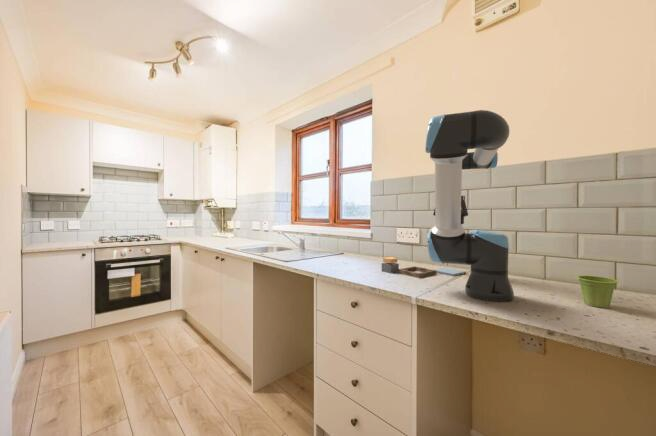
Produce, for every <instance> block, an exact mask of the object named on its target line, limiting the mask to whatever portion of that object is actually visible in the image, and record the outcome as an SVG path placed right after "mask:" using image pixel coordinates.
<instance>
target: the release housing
mask: <svg viewBox="0 0 656 436" xmlns="http://www.w3.org/2000/svg"><path fill="white" fill-rule="evenodd" d="M399 265H400V263H398V262H396V263H392V264H388V263H386V262H382V263H381V272H385V273H389V274H392V273H398V269H400V268H399Z"/></svg>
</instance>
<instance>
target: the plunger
mask: <svg viewBox="0 0 656 436" xmlns="http://www.w3.org/2000/svg"><path fill="white" fill-rule="evenodd" d="M382 263H388V264H392V263H398V257H393V256H388V257H387V256H386V257H383V258H382Z"/></svg>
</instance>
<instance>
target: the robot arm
mask: <svg viewBox="0 0 656 436" xmlns="http://www.w3.org/2000/svg"><path fill="white" fill-rule="evenodd" d="M509 136H510V127H509V124H508V122H507V120H506V119H505V118H504V117H503V116H501V115H500V114H498V113H496V112H494V111H491V110H484V109H480V110H474V111H464V112H458V113H457V112H456V113H449V114H448V113H447V114H442V115H437V116H434V117H432V118H430V119H429V122H428V126H427V130H426V138H425V149H424V150H425V153H427V154H429V158H430V160H432V161H433V162H434V192H435V193H434V202H435V203H434V210H433V214H432V215H433V216H434V217H435V219H434V220H435V223H434V225H433V226H432V227H431V229H430V231H429V232H427V235H426V242H427V250H428V251H427V252H428V255H429V258H430V260H431V261H432V262H433V263H441V264H453V265H463V266H464V265H467V266H470V273H469V277H468V278H467V281H466V284H465V286H464V287H465V289H464V291H465V294H466V295H467V296H469V297H472V298H475V299H480V300H484V301H491V302H511V301H513V300H514V299H515V297H514V296H515V293H514V289H513V285H512V284H511V280H510V278H509V249H510V246H509V238H508V236H507V235H505V234H504V233H500V232H493V231H487V230H481V229H479V230H478V229H471V231H470V233H468V232H467V233H466V229H465V228H464V227H463V225H464V224H465V217H468V216H469V212H468V208H467V203H466V196H465V195H462V179H463V175H462V173H463V171H465V170H481V169H482V170H483V169H485V170H487V169H488V170H489V169H495V168H496V167H497V166H498V157H499V155H498V150H499V148H501V147H502V146H504V145H505V143H506V142H507V141H508V139H509ZM468 150H474V151H472V152H468Z"/></svg>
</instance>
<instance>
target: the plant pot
mask: <svg viewBox="0 0 656 436" xmlns="http://www.w3.org/2000/svg"><path fill="white" fill-rule="evenodd" d="M576 278H577V279H578V283H579V285H580V289H581V294H582V301H583V304H585V305H586V304H587V306H590V307H593V306H595V307H594V308H596V307H598V308H599V307H600V308H603V309H606V308H607V309H608V307H609V308H610V307H611V303H612V298H613V295H614V294H613V293H614V288H616V285H617V284H618V283H619V282H618V280H616V279H613V278H609V277H604V276H597V275H577V276H576Z"/></svg>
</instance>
